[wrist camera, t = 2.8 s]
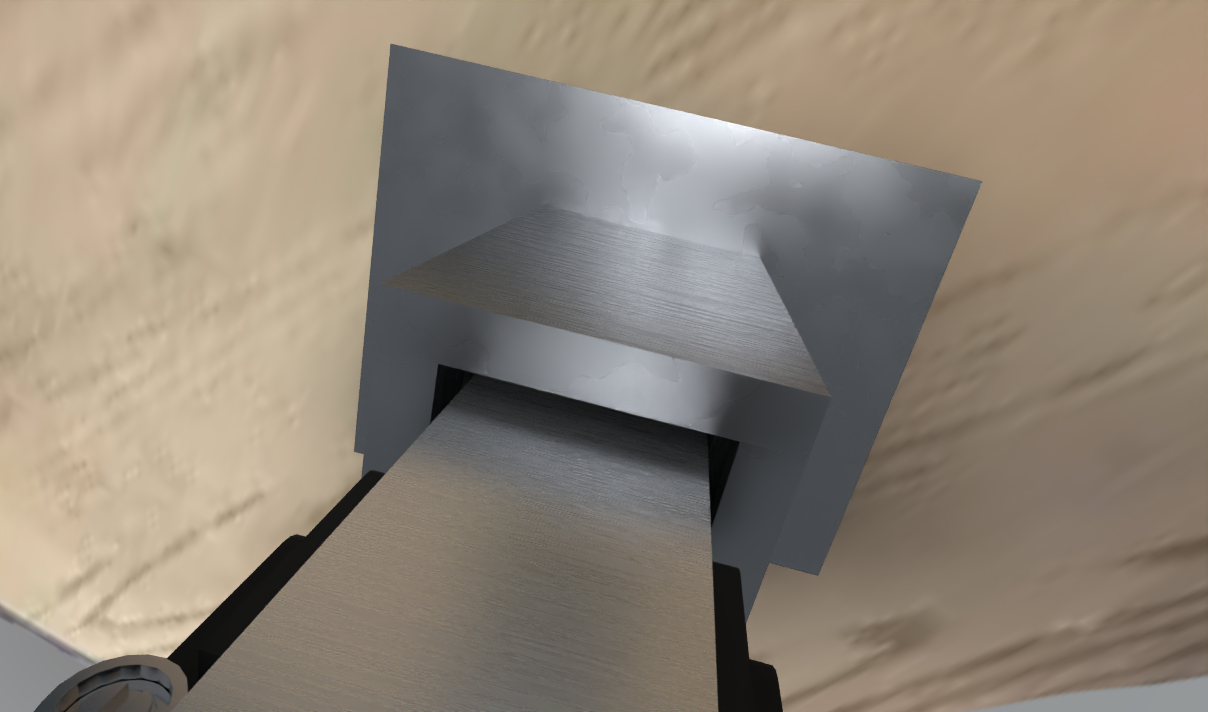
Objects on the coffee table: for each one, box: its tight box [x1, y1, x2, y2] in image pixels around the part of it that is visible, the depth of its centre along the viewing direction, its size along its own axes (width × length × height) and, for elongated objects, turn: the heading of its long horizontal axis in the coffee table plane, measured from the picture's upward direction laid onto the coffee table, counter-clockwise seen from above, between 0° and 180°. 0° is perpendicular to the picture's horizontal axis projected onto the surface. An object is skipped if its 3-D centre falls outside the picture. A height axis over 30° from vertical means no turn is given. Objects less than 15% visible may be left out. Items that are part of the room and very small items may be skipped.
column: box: [171, 374, 718, 712], centre depth 14 cm, size 5×5×20 cm
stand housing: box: [354, 44, 982, 622], centre depth 19 cm, size 20×16×14 cm
